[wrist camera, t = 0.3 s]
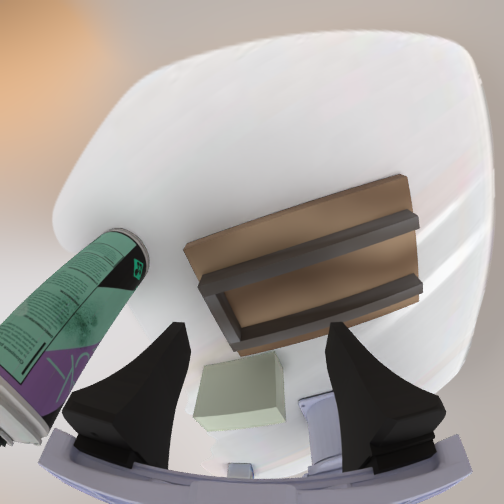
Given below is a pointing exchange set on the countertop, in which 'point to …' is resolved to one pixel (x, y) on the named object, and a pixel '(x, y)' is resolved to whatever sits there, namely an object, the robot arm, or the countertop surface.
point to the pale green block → (241, 394)
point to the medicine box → (240, 471)
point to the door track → (311, 267)
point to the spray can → (63, 332)
